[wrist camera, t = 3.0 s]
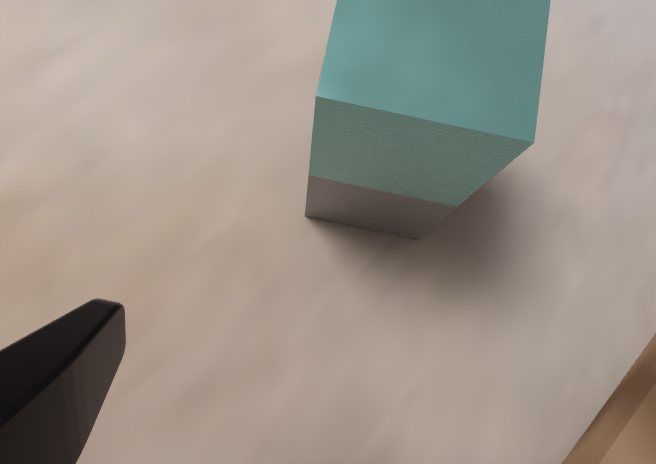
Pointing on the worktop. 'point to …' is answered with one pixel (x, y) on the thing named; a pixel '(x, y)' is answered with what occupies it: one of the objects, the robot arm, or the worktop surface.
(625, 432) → the stand
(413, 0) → the teal block grey base
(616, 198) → the worktop surface
